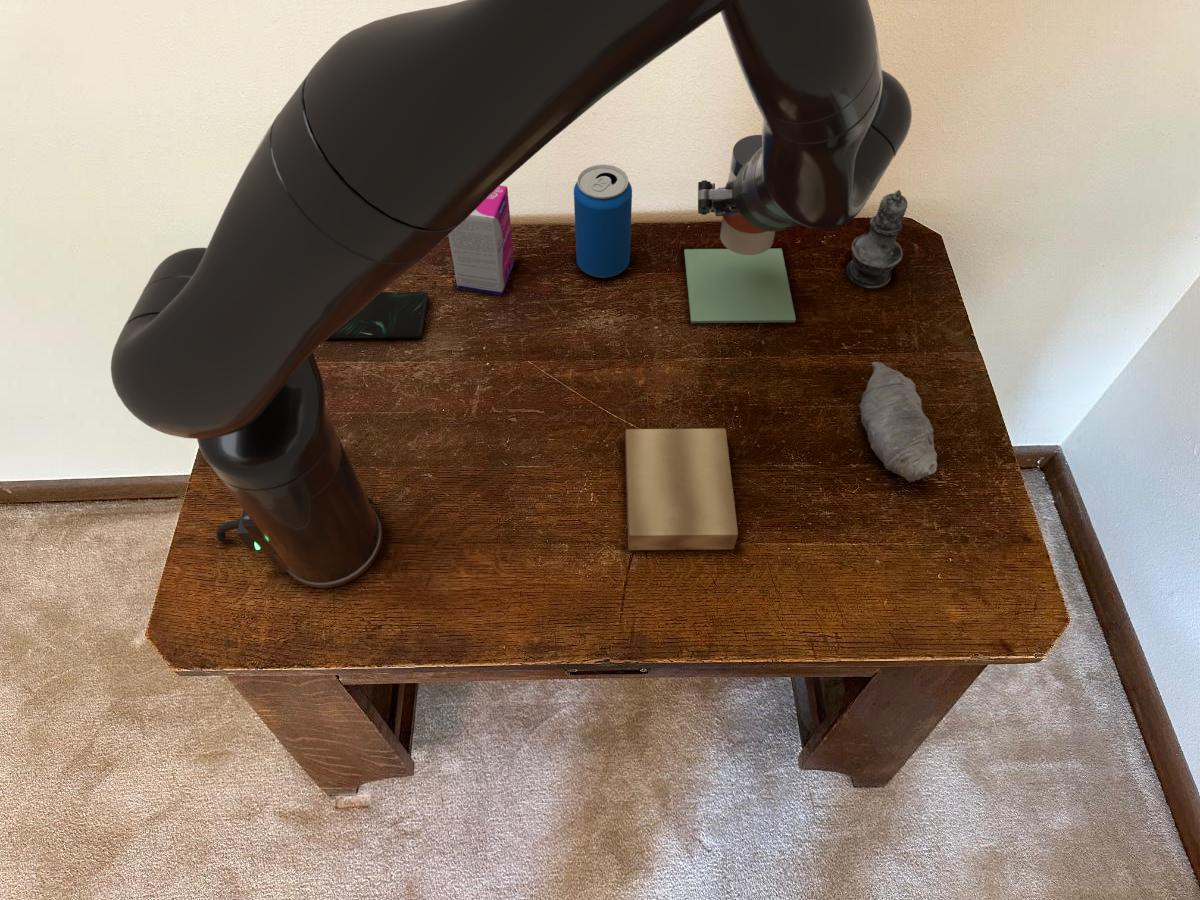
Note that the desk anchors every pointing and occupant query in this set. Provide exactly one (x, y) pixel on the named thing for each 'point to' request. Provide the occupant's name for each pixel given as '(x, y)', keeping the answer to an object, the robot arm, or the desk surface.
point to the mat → (737, 287)
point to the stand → (679, 490)
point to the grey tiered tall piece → (879, 245)
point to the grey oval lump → (897, 424)
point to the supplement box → (484, 246)
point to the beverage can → (603, 220)
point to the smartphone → (388, 317)
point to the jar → (737, 229)
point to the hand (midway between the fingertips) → (749, 205)
